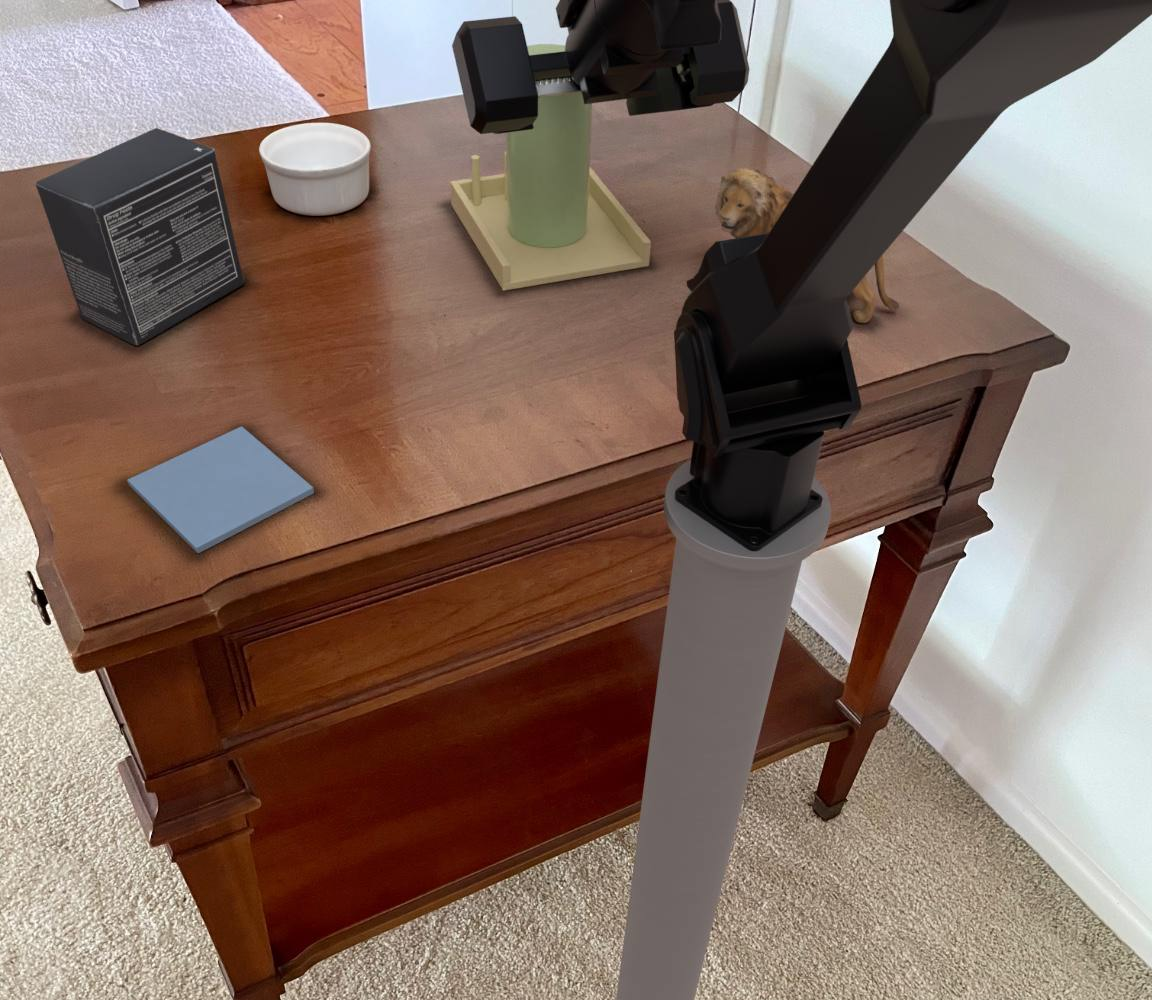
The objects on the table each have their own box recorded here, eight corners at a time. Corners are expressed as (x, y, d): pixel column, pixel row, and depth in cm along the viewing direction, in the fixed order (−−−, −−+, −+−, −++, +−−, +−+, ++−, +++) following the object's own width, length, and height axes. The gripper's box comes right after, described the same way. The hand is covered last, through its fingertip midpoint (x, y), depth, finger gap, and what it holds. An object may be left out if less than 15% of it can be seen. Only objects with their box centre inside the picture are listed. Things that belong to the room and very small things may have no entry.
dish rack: (649, 266, 88) (654, 211, 85) (503, 291, 85) (502, 234, 82) (585, 185, 97) (587, 132, 94) (451, 205, 94) (448, 151, 91)
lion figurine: (698, 295, 86) (712, 182, 79) (713, 261, 89) (728, 150, 83) (893, 331, 83) (924, 217, 77) (901, 295, 87) (931, 182, 80)
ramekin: (267, 174, 97) (258, 123, 94) (371, 168, 98) (366, 118, 95) (268, 225, 91) (258, 173, 88) (379, 217, 92) (374, 166, 89)
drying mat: (314, 493, 69) (313, 487, 68) (197, 554, 65) (195, 548, 65) (243, 431, 73) (241, 425, 72) (128, 485, 69) (126, 479, 68)
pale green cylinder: (603, 230, 91) (612, 63, 82) (544, 256, 88) (546, 86, 78) (549, 200, 94) (552, 36, 85) (490, 225, 91) (486, 58, 82)
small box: (188, 257, 87) (155, 122, 80) (248, 284, 85) (221, 147, 77) (75, 318, 81) (28, 177, 73) (137, 349, 79) (95, 207, 71)
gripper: (756, -146, 67) (665, -11, 82) (453, -126, 62) (415, 14, 77) (795, 42, 68) (698, 142, 83) (499, 77, 63) (453, 177, 78)
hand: (569, 116), depth 80 cm, fingers open, 9 cm apart
